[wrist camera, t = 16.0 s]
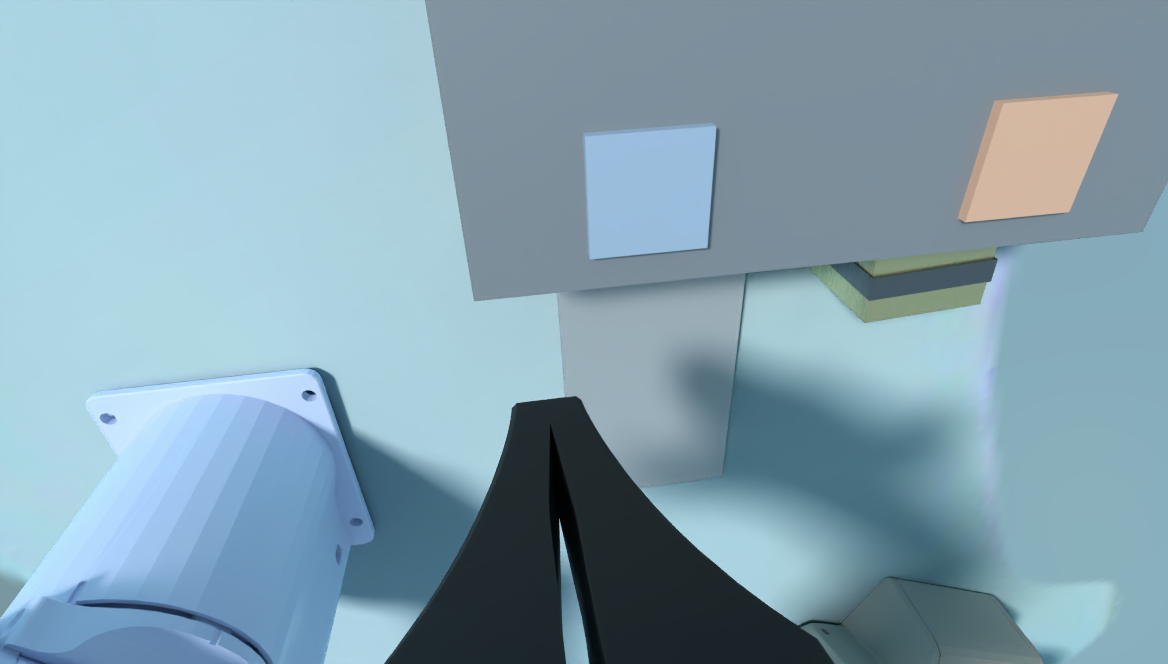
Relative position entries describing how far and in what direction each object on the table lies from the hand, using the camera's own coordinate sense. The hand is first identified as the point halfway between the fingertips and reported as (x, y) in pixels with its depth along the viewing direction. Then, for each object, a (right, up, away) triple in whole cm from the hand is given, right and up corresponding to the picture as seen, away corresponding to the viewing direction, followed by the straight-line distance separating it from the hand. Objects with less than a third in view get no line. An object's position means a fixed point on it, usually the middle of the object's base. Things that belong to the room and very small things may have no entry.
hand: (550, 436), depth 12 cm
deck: (+3, 0, +12) cm, 13 cm away
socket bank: (+6, +10, +6) cm, 14 cm away
